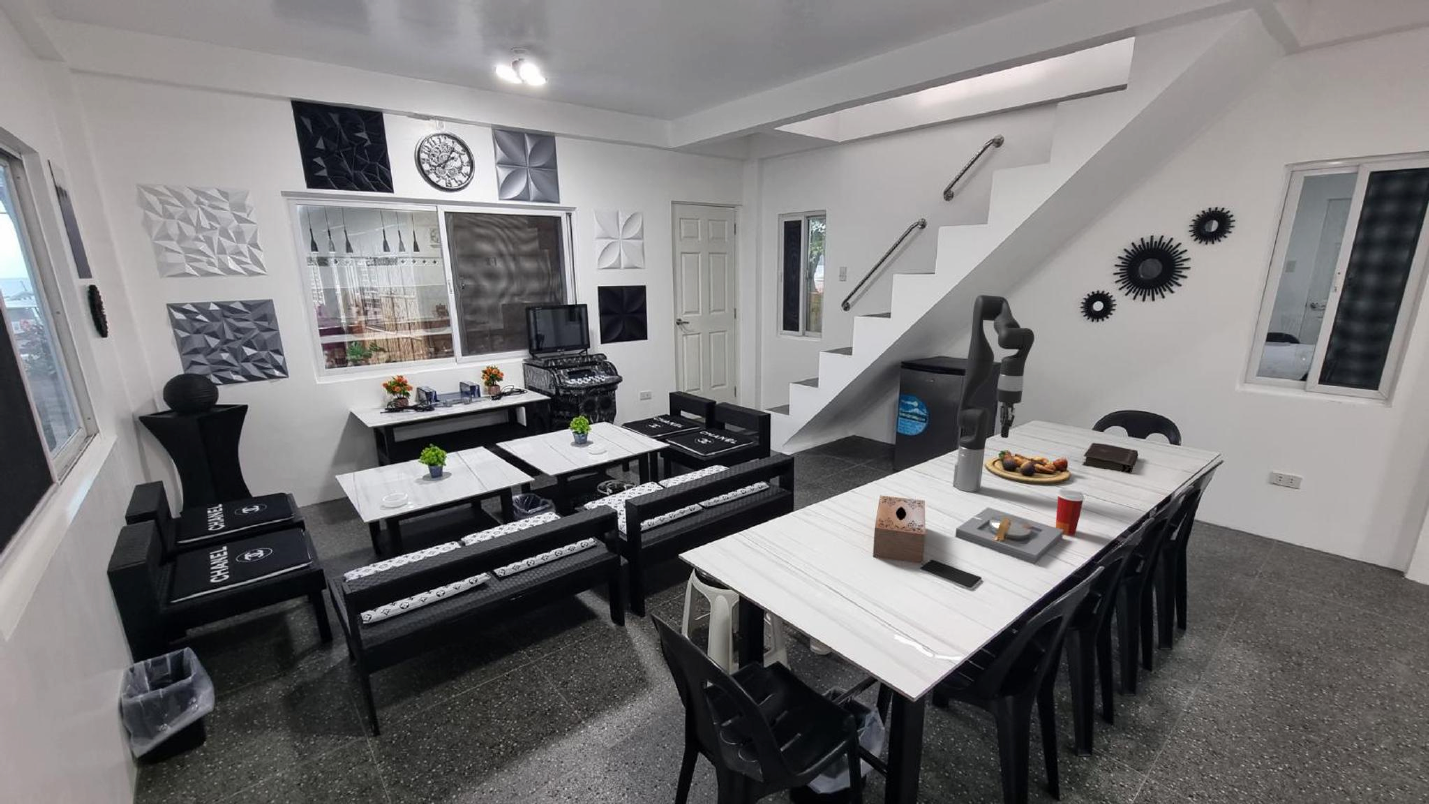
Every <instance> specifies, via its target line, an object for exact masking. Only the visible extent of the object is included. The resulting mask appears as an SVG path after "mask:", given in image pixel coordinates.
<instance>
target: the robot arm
mask: <svg viewBox="0 0 1429 804" xmlns="http://www.w3.org/2000/svg"><path fill="white" fill-rule="evenodd" d="M984 321H989V322H993V329H994V331H995V332H996V334H997V344H998V346H999V347H1000V348H1001V349H1003V350H1017V351H1016V352H1015V353H1014V354H1012V355H1007V356H1004V357H1002V358H1001V361H1000V367H999V368H1000V370H999V376H998V379H997V390H996V398H995V400H996V401H997V402H999V403H1002V405H1000V407H999V413H1000V414H999V418H1000V419H999V421H1000V426H1001V427H1000V437H1001V438H1002V439H1007V438H1008V439H1009V433H1010V428H1012V426H1013V422H1014V420H1015V416H1016V415H1015V412H1016V408H1014V405H1015V404H1020V403H1021V402H1022V397H1023V389H1024V373H1025V366H1026V362H1027V358H1028V357H1029V356H1028V355H1029V353H1030V351H1031V349H1032V347H1033V344H1034V342H1035V333H1034V332H1033V330H1032V329H1030V328H1028V327H1021V326H1020V324H1019V322H1018V321H1017V320H1016V319H1015V318H1014V316H1013V313H1012V310H1011V305H1010V304H1009V302H1008V300H1007V298H1005V297H1003V296H999V295H997V296H996V295H984V294H983V295H982V294H980V295H978V296H977V297H976V299H975V302H974V305H973V312H972V323H971V336H970V342H969V348H968V354H967V361H966V365H965V372H964V373H965V374H964V381H963V387H962V392H961V393H962V394H961V398H960V401H959V405H958V410H957V415H956V416H957V417H956V423H957V427H959V428H960V429H964V430H965V429H966V430H971V431H975V432H974V434H972V435H965V436H962V437H960V439H959V441H958V443H959V444H958V453H957V461H956V463H955V464H954V470H953V471H954V472H953V480H952V481H953V482H952V486H953V487H955V488H956V489H958V490H959V491H964V492H980V490H981V485H982V476H983V468H984V459H985V448H986V441H987V436H988V432H989V431H988V430H989V424H990V416H991V415H990V414H991V413H990V410H989V408H987V407H982V406H977V405H976V406H975V405H972V403H973V401H974V400H973V399H974V398H975V397H974V396H975V395H976V393H977V392H978V390H979V389H980V388H981V387H982V386H983V385H984V384H985V383H986V382H987V380H989V378H990V377H991V375H992V373H993V370H994V369H993V367H994V363H995V362H994V361H995V355H994V351H993V349H992V347H991V345H990V343H989V341H988V339H987V337H986V334H985V331H984Z"/></svg>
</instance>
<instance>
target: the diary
mask: <svg viewBox="0 0 1429 804" xmlns="http://www.w3.org/2000/svg"><path fill="white" fill-rule="evenodd" d="M1083 457H1085V461H1084V462H1083V463H1082V464H1081V466H1085V467H1090V468H1096V469H1101V470H1109V469H1110V470H1109V471H1116V472H1120V471H1121V472H1122V471H1123V473H1126V472H1128V471H1129V473H1128V474H1129V475H1131V473H1133V469H1134V467H1135V465H1136V463H1137V460H1138V458H1139V451H1138V450H1137V449H1130V448H1126V447H1121V446H1116V445H1112V444H1107V443H1098V442H1092V443H1091V445H1090V446H1089V447H1088V449H1087V450H1086V451H1085V453H1084V454H1083ZM1129 467H1131V468H1129Z"/></svg>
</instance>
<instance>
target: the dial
mask: <svg viewBox="0 0 1429 804" xmlns="http://www.w3.org/2000/svg"><path fill="white" fill-rule="evenodd" d="M1018 517H1019V516H1018ZM1018 517H1014V516H1008V515H996V516H993V517H991V518H990V523H989V530H990V531H991V532H992V533H993V534H995V535H997V539H1001V540H1004V539H1010V540H1026V539H1028V538H1030V535H1031V527H1032V526H1031V524H1030V523H1028V522H1027V521H1025V520H1023V519H1021V518H1018Z"/></svg>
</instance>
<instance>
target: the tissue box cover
mask: <svg viewBox="0 0 1429 804" xmlns="http://www.w3.org/2000/svg"><path fill="white" fill-rule="evenodd" d="M878 500H879V501H878V506H877V512H876V517H875V523H874V532H873V533H874V534H873V535H874V536H873V551H872V557H873V558H879V559H884V560H890V559H891V560H892V561H898V562H903V561H904V562H905V563H909V564H911V563H912V564H916V565H917V564H918V565H924V558H925V557H924V555H925V547H926V546H925V544H926V536H927V535H926V504H925V503H926V502H925V500H921V499H914V498H904V497H897V496H888V495H887V496H886V495H879V499H878Z"/></svg>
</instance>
